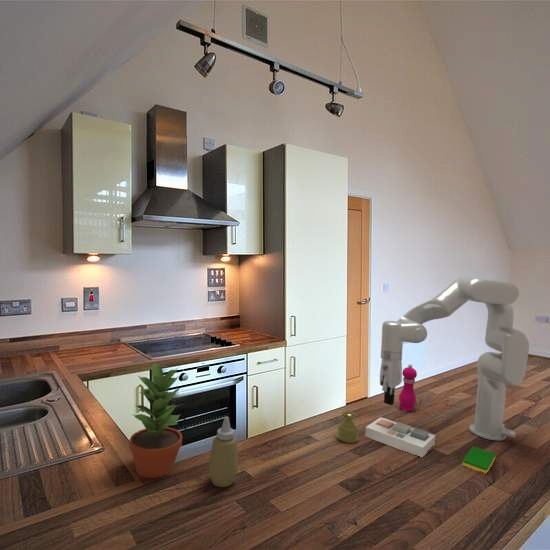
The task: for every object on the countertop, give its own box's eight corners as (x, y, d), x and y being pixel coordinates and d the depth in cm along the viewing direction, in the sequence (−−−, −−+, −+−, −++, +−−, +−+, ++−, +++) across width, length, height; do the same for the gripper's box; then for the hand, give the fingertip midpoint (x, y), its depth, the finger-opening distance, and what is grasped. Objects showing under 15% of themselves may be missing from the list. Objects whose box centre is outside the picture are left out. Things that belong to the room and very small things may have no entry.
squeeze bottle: (213, 493, 103) (217, 425, 102) (203, 476, 110) (207, 413, 109) (241, 486, 107) (246, 421, 106) (230, 471, 114) (235, 410, 113)
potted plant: (153, 490, 103) (160, 376, 101) (116, 469, 111) (122, 364, 109) (194, 466, 115) (200, 365, 114) (158, 449, 123) (163, 355, 122)
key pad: (434, 445, 140) (435, 434, 140) (422, 457, 130) (422, 446, 130) (380, 426, 153) (381, 416, 153) (364, 436, 143) (365, 426, 143)
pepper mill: (412, 413, 168) (416, 367, 167) (395, 408, 173) (399, 363, 172) (417, 409, 174) (421, 364, 173) (401, 404, 178) (405, 361, 177)
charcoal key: (428, 440, 139) (428, 432, 139) (423, 444, 135) (424, 436, 135) (415, 435, 142) (415, 427, 141) (410, 439, 138) (411, 431, 138)
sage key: (410, 433, 143) (410, 426, 143) (405, 437, 139) (406, 429, 139) (397, 429, 146) (398, 422, 146) (392, 433, 142) (393, 425, 142)
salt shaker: (334, 440, 138) (336, 412, 138) (339, 432, 145) (341, 405, 145) (355, 445, 135) (357, 417, 135) (359, 436, 142) (361, 409, 142)
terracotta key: (392, 430, 147) (393, 422, 147) (387, 434, 143) (388, 426, 143) (381, 426, 150) (382, 419, 150) (376, 430, 146) (376, 422, 146)
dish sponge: (495, 460, 133) (495, 453, 132) (486, 476, 122) (487, 468, 122) (472, 452, 137) (472, 445, 137) (461, 467, 126) (462, 460, 126)
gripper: (393, 360, 137) (390, 412, 138) (408, 353, 149) (406, 400, 150) (372, 356, 142) (370, 406, 143) (389, 349, 153) (387, 395, 154)
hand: (388, 403), depth 146 cm, fingers closed
